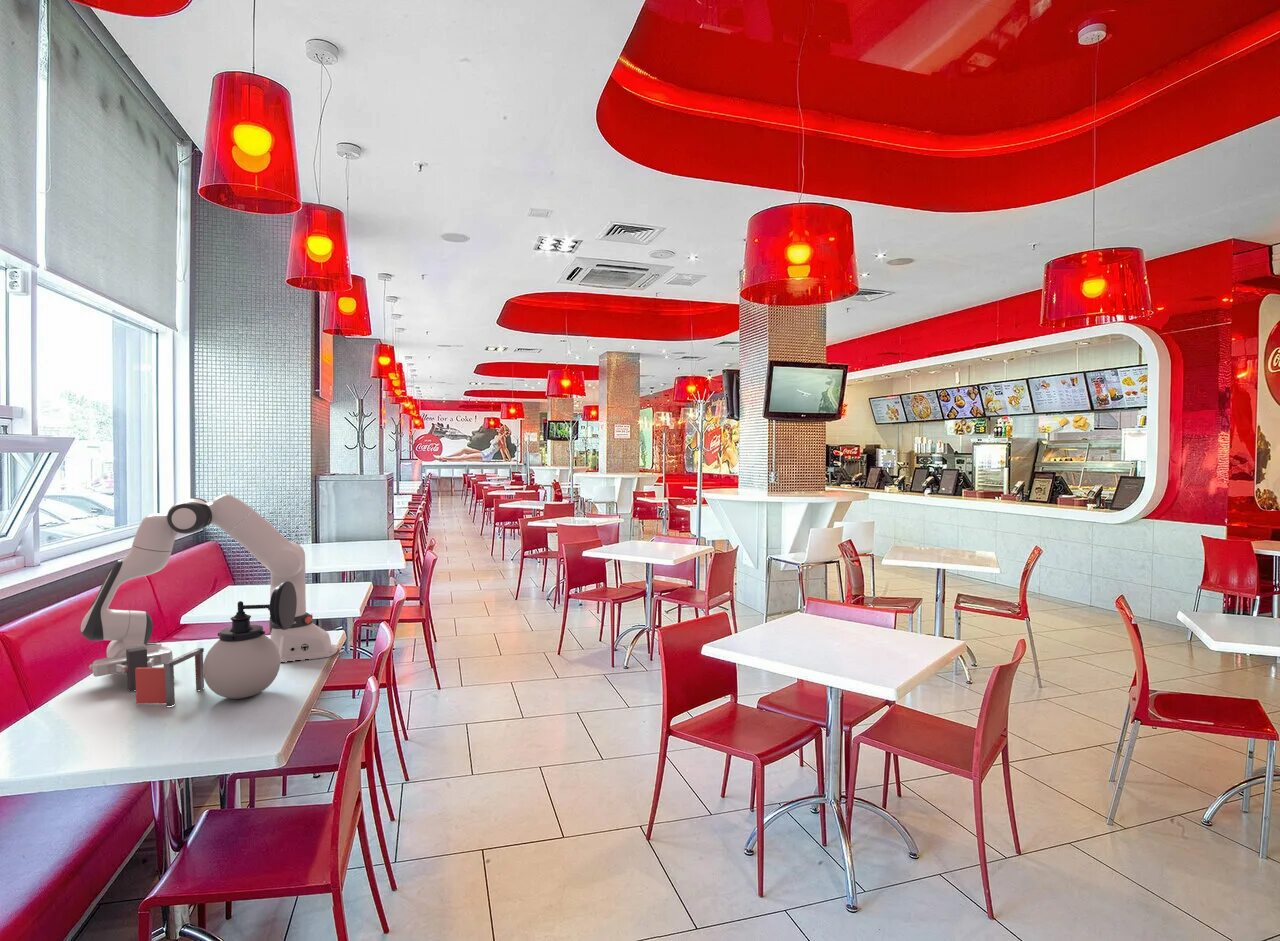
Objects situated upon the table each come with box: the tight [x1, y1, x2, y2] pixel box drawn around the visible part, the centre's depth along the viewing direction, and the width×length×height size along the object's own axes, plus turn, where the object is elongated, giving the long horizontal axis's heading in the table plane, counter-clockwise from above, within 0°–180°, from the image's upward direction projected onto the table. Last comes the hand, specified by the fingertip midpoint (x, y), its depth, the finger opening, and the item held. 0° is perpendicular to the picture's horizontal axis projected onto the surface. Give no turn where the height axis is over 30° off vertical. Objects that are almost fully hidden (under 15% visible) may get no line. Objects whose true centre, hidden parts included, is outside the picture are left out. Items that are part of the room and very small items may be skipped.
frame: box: [163, 647, 205, 707], centre depth 209 cm, size 16×2×12 cm, turn 179°
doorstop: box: [126, 646, 148, 692], centre depth 218 cm, size 4×4×12 cm
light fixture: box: [203, 581, 297, 700], centre depth 210 cm, size 20×23×33 cm
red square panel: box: [135, 666, 166, 705], centre depth 204 cm, size 10×1×10 cm, turn 89°
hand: (137, 667), depth 218 cm, fingers closed on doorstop, 4 cm apart
